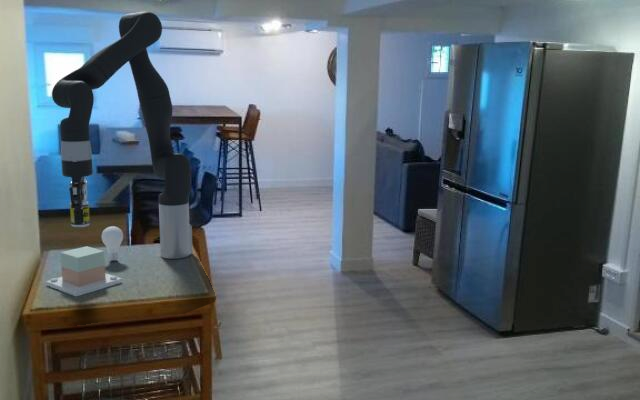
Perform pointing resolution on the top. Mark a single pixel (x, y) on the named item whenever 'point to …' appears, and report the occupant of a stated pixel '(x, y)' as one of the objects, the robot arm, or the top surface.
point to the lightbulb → (112, 241)
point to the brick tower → (83, 272)
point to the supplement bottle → (85, 214)
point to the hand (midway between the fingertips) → (80, 220)
